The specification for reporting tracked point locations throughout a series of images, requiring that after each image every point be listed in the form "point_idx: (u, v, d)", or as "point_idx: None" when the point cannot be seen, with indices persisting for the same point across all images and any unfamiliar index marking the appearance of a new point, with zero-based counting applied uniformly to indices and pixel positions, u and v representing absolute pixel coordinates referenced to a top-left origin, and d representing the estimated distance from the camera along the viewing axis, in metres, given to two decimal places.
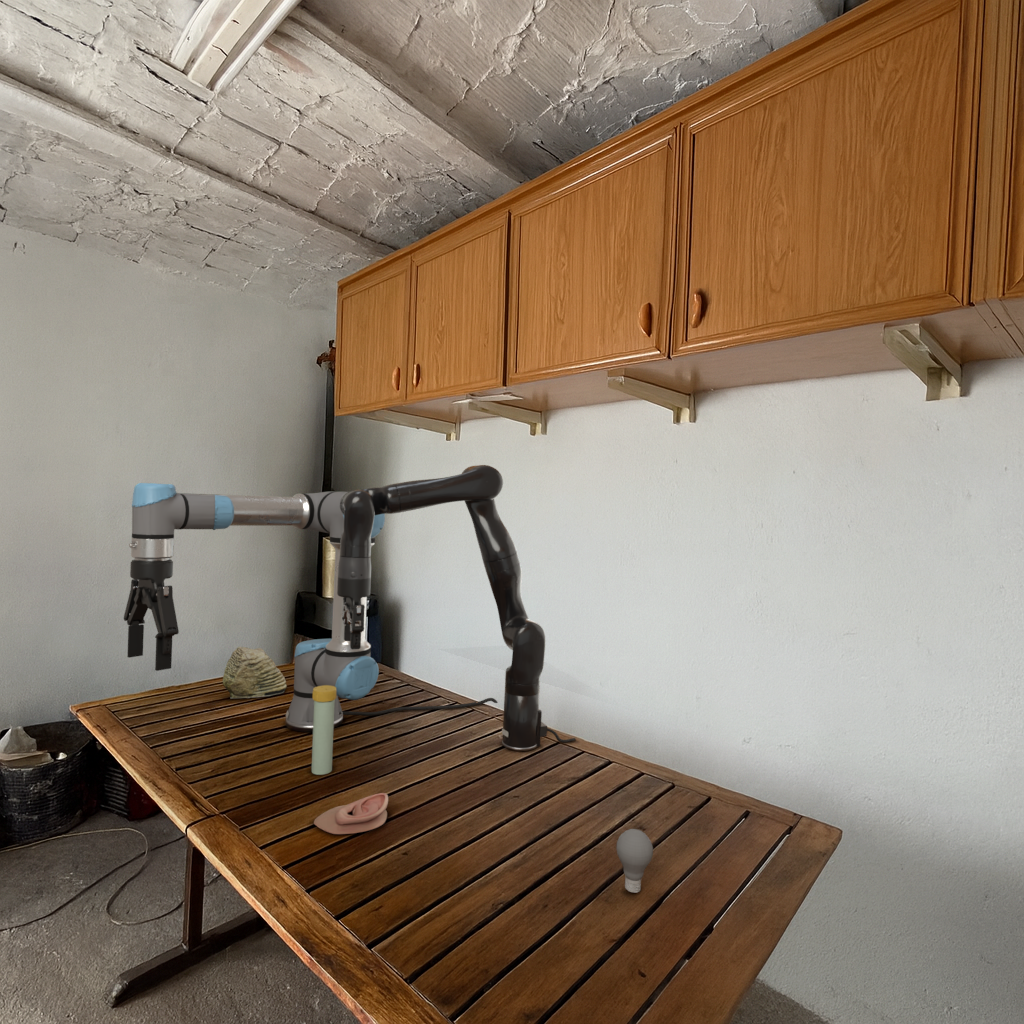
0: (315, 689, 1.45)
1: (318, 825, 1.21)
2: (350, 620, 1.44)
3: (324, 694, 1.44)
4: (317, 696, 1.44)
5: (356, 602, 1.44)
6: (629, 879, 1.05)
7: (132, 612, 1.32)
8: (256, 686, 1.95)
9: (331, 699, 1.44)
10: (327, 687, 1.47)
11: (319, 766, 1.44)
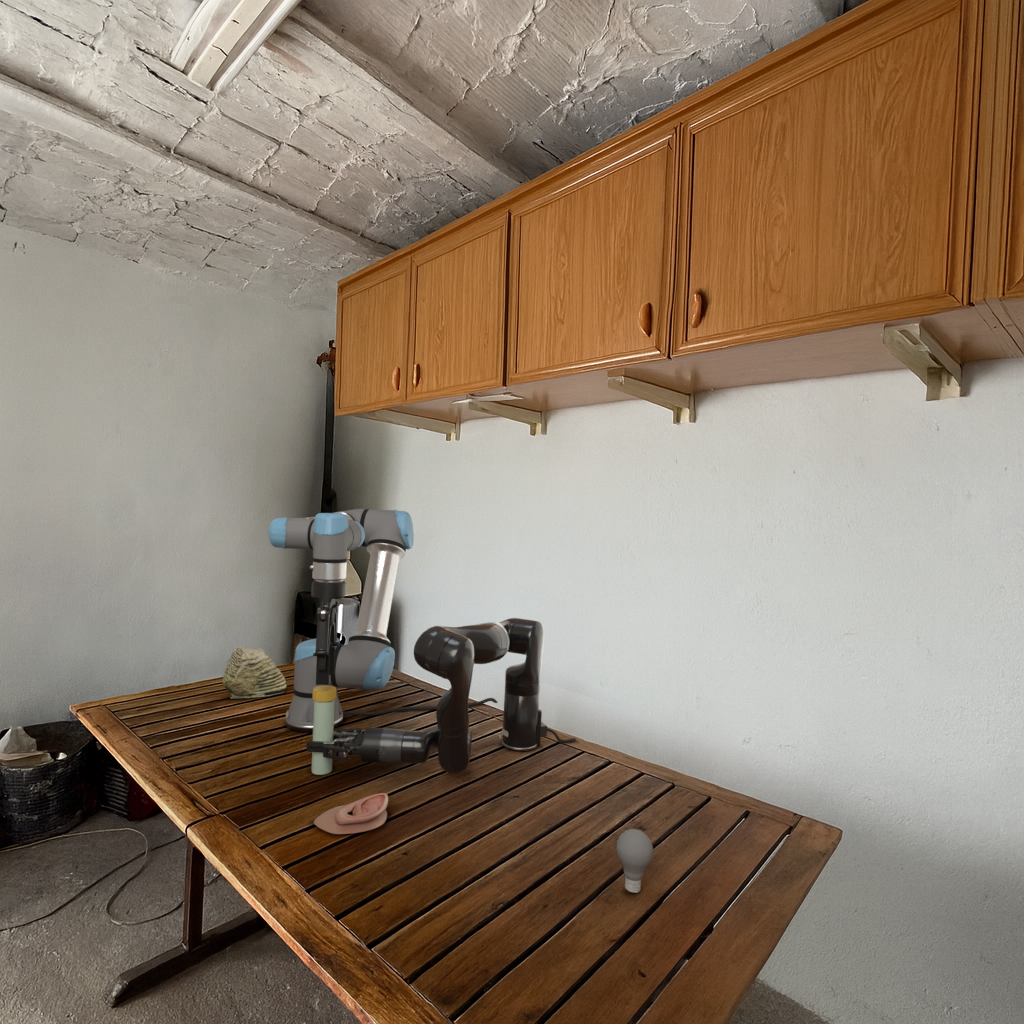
0: (315, 689, 1.45)
1: (318, 825, 1.21)
2: None
3: (324, 694, 1.44)
4: (317, 696, 1.44)
5: None
6: (629, 879, 1.05)
7: None
8: (256, 686, 1.95)
9: (331, 699, 1.44)
10: (327, 687, 1.47)
11: (319, 766, 1.44)
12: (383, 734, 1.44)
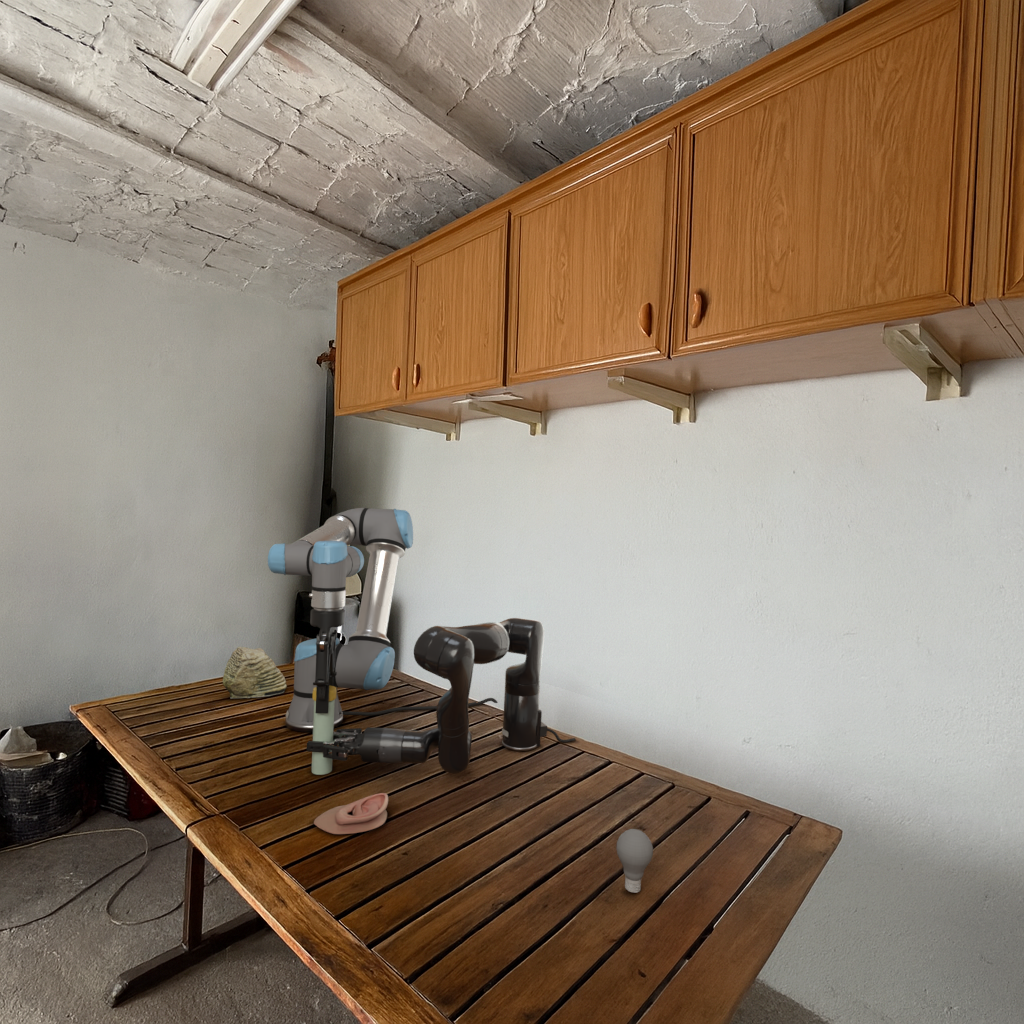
0: (315, 689, 1.45)
1: (318, 825, 1.21)
2: None
3: None
4: None
5: None
6: (629, 879, 1.05)
7: None
8: (256, 686, 1.95)
9: (331, 699, 1.44)
10: None
11: (319, 766, 1.44)
12: (383, 734, 1.44)
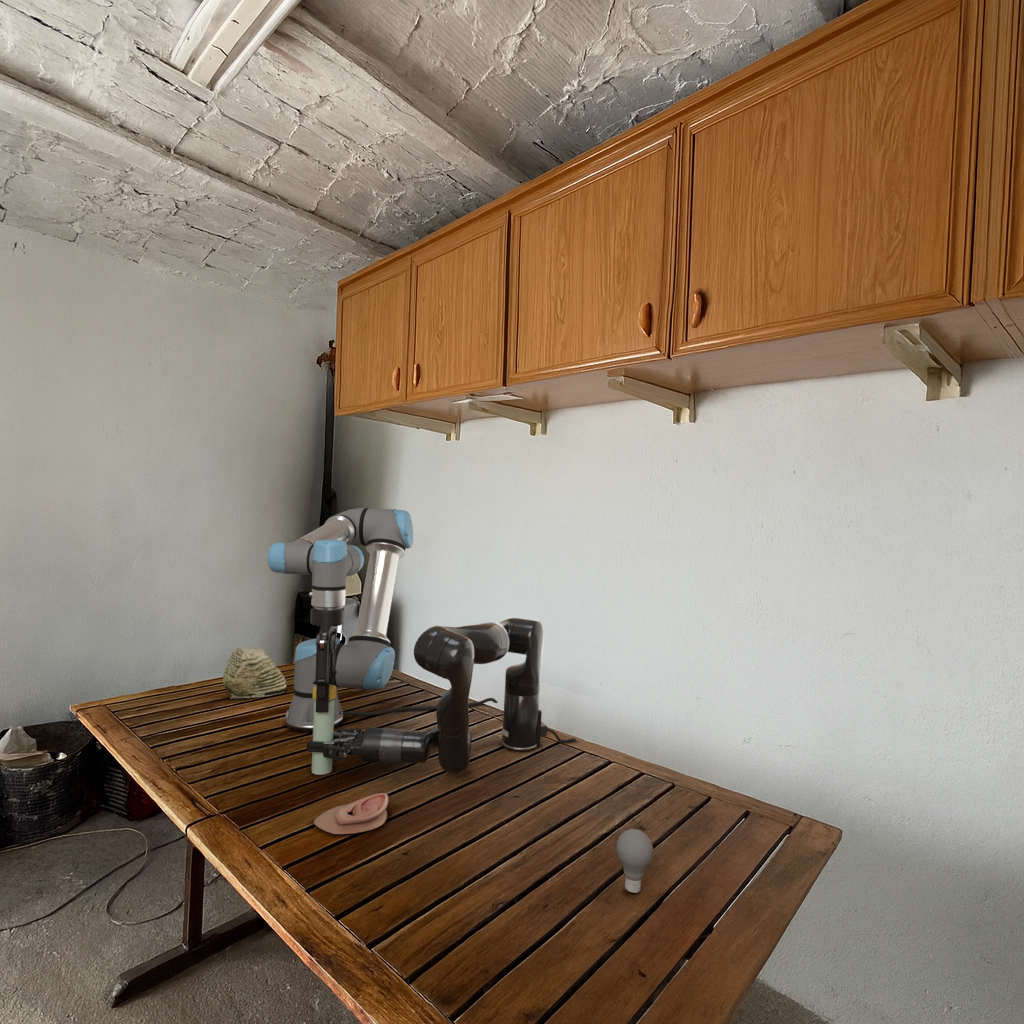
0: None
1: (318, 825, 1.21)
2: None
3: (335, 690, 1.46)
4: (331, 695, 1.44)
5: None
6: (629, 879, 1.05)
7: None
8: (256, 686, 1.95)
9: None
10: None
11: (319, 766, 1.44)
12: (383, 734, 1.44)
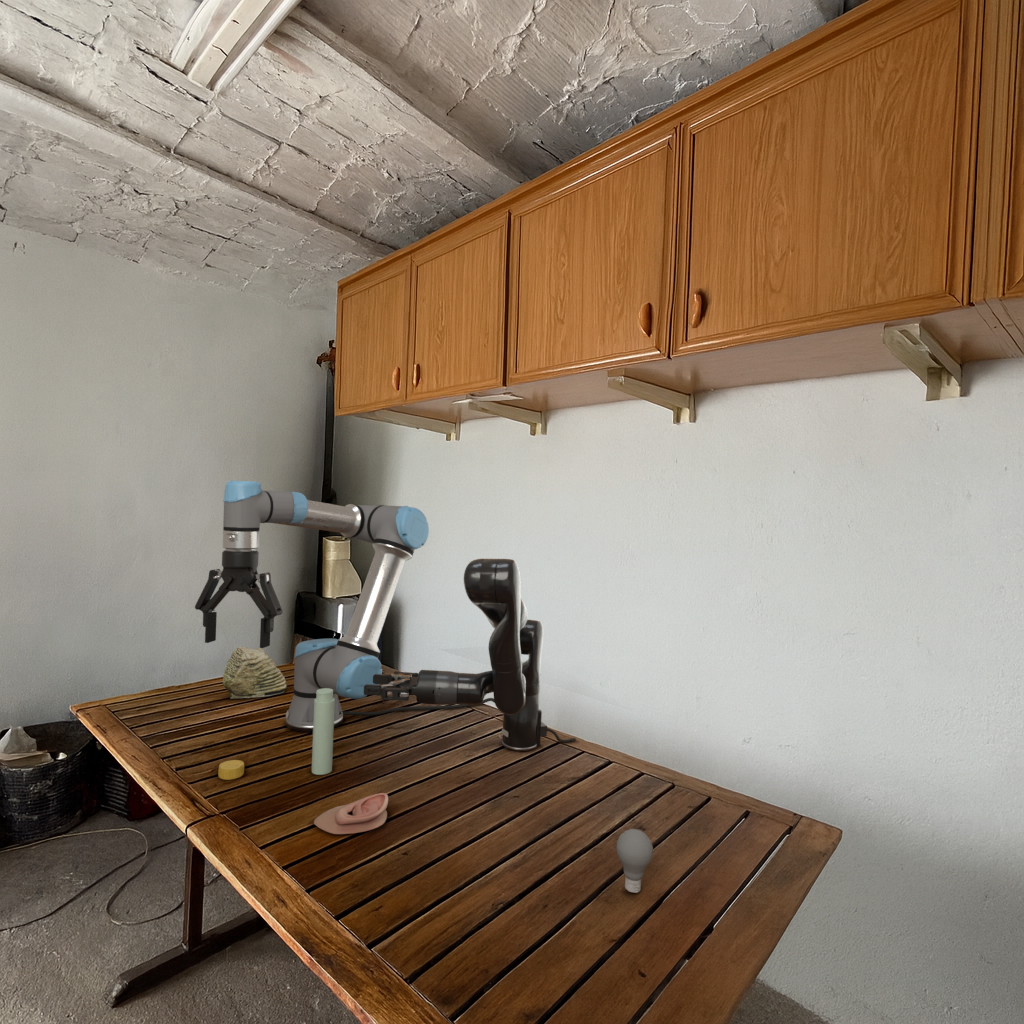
0: (239, 761, 1.44)
1: (318, 825, 1.21)
2: None
3: None
4: None
5: None
6: (629, 879, 1.05)
7: (212, 600, 1.42)
8: (256, 686, 1.95)
9: None
10: (230, 766, 1.41)
11: (319, 766, 1.44)
12: (438, 675, 1.44)
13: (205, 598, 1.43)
